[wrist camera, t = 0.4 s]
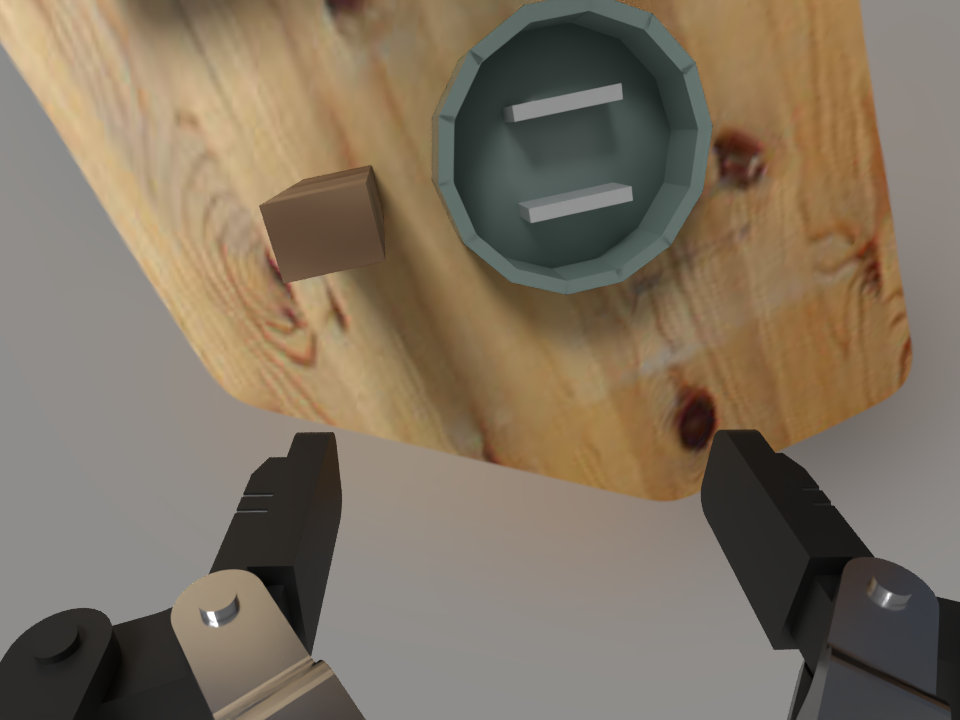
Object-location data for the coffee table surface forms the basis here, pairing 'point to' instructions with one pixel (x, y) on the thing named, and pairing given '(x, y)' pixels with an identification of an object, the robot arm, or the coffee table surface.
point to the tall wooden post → (326, 224)
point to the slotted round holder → (571, 144)
